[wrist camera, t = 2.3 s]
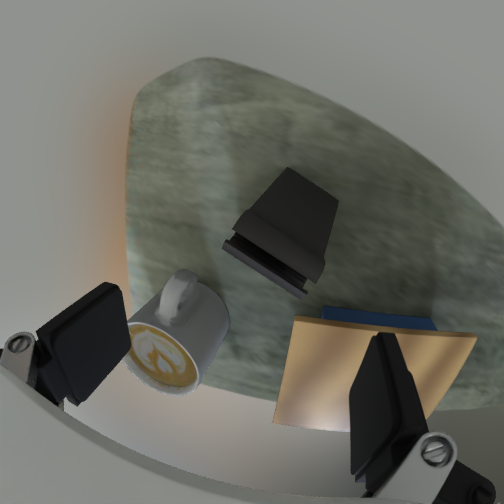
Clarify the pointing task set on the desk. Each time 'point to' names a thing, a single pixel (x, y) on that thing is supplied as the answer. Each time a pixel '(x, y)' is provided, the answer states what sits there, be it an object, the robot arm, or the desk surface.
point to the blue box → (377, 319)
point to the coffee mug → (177, 335)
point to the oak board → (347, 365)
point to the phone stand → (286, 232)
